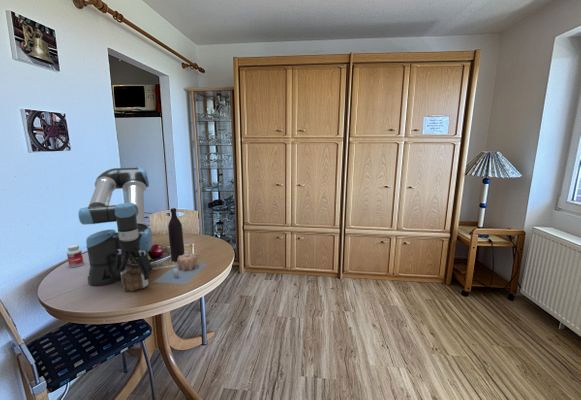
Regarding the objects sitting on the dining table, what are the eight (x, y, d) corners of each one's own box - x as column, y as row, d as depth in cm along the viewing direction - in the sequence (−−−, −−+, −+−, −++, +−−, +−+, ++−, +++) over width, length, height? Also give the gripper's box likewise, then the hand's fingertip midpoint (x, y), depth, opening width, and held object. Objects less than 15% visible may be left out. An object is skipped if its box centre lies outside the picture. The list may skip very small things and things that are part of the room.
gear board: (153, 283, 124) (152, 274, 123) (179, 263, 145) (178, 255, 144) (185, 286, 122) (184, 276, 121) (206, 265, 143) (206, 256, 142)
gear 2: (174, 270, 135) (173, 257, 134) (184, 262, 144) (183, 250, 143) (192, 271, 134) (190, 258, 132) (201, 263, 143) (200, 251, 142)
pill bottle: (68, 268, 140) (64, 249, 138) (70, 264, 146) (66, 245, 143) (83, 266, 144) (79, 246, 141) (84, 262, 149) (81, 243, 147)
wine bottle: (187, 259, 151) (183, 207, 145) (177, 264, 145) (172, 210, 139) (178, 257, 154) (173, 206, 148) (168, 261, 148) (163, 209, 142)
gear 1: (118, 290, 117) (116, 277, 116) (133, 279, 126) (132, 268, 125) (137, 292, 116) (136, 279, 115) (151, 281, 125) (150, 269, 124)
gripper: (99, 240, 114) (107, 287, 119) (146, 243, 111) (152, 291, 116) (113, 234, 122) (120, 279, 126) (157, 236, 118) (162, 282, 123)
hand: (135, 285), depth 121 cm, fingers closed on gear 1, 10 cm apart
